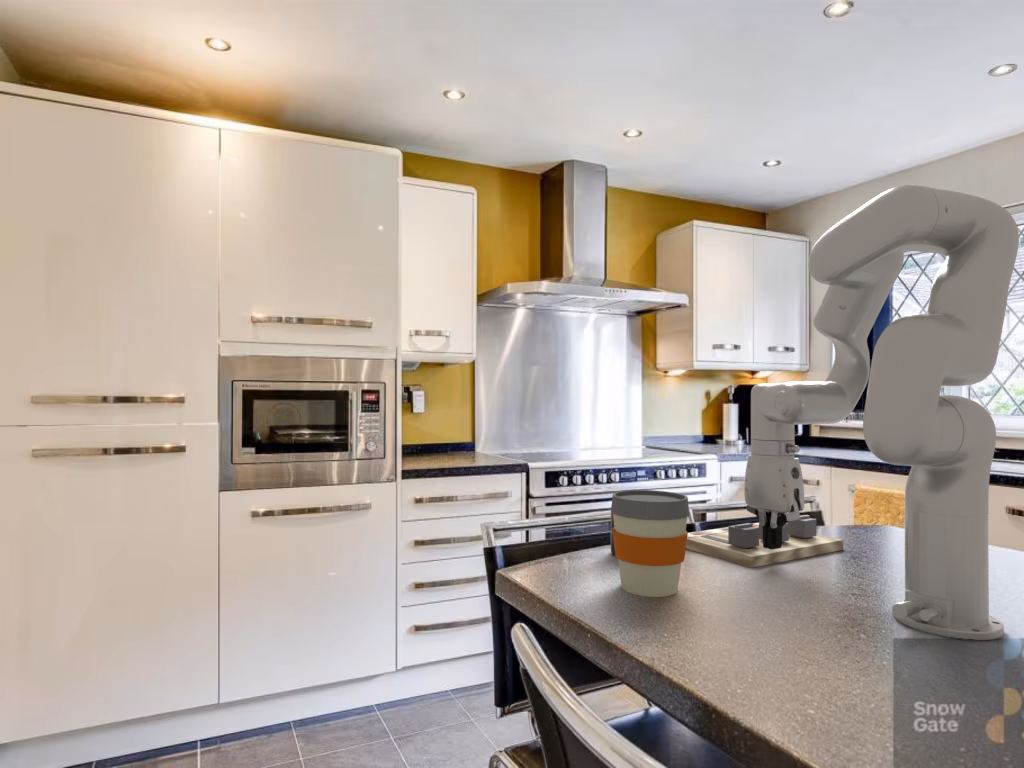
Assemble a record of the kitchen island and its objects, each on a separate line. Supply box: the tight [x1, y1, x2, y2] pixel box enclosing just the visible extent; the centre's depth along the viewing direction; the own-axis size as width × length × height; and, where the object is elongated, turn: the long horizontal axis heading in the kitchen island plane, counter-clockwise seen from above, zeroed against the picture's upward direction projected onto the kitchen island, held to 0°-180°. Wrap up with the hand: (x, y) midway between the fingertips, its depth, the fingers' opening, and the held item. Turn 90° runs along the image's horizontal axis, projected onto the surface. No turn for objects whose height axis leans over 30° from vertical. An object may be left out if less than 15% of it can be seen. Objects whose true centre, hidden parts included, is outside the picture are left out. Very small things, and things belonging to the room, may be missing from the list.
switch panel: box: [686, 522, 844, 569], centre depth 129 cm, size 28×20×2 cm
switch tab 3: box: [787, 514, 817, 538], centre depth 130 cm, size 4×4×4 cm
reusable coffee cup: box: [610, 489, 690, 598], centre depth 101 cm, size 13×13×15 cm
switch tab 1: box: [727, 522, 759, 548], centre depth 121 cm, size 4×4×4 cm
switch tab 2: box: [758, 522, 789, 542], centre depth 126 cm, size 4×4×4 cm
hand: (772, 547), depth 116 cm, fingers closed
